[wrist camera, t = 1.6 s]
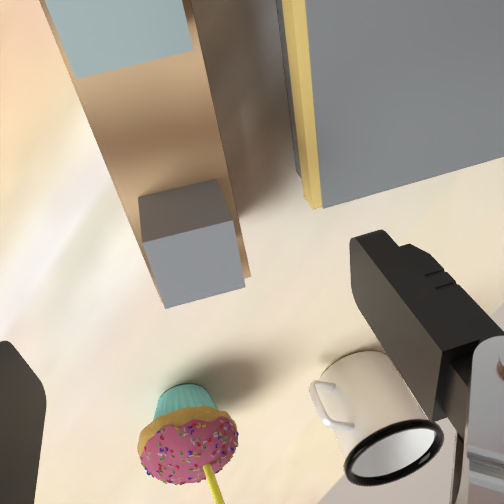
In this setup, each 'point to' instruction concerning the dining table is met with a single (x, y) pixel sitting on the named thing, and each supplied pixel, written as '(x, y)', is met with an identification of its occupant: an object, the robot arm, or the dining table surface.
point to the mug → (374, 419)
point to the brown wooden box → (156, 128)
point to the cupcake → (188, 439)
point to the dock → (390, 91)
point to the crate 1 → (119, 32)
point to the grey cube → (190, 243)
